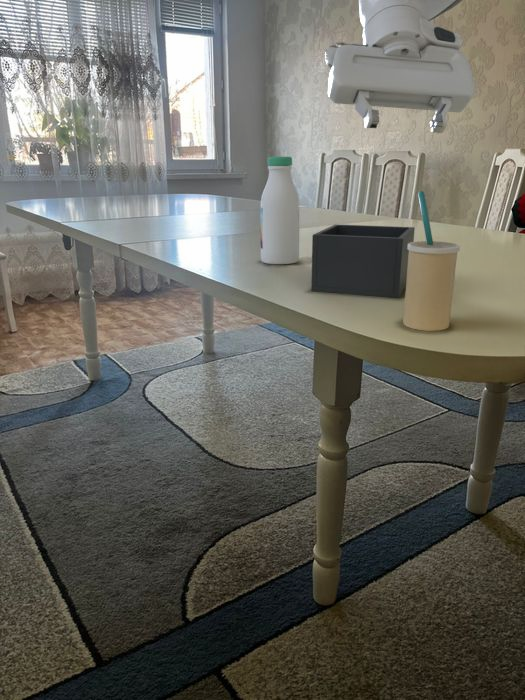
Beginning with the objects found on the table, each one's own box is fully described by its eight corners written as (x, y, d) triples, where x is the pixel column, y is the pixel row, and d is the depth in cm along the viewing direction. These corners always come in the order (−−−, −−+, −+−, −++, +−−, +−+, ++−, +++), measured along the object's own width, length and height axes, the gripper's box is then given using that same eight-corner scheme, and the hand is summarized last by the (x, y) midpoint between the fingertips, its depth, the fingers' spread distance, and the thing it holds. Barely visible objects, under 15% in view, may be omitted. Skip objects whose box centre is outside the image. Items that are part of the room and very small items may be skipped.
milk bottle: (306, 261, 109) (308, 156, 103) (280, 266, 104) (280, 156, 97) (279, 256, 115) (279, 156, 108) (252, 261, 110) (251, 156, 103)
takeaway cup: (452, 320, 70) (467, 189, 65) (449, 333, 65) (464, 193, 59) (404, 315, 72) (415, 189, 67) (398, 328, 67) (408, 192, 61)
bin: (410, 279, 93) (414, 227, 90) (398, 298, 81) (403, 238, 78) (333, 274, 98) (334, 224, 95) (311, 290, 86) (312, 234, 83)
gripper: (329, 22, 73) (337, 104, 69) (472, 35, 76) (487, 115, 72) (319, 60, 79) (325, 138, 75) (451, 71, 82) (465, 147, 77)
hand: (406, 127), depth 73 cm, fingers open, 8 cm apart
